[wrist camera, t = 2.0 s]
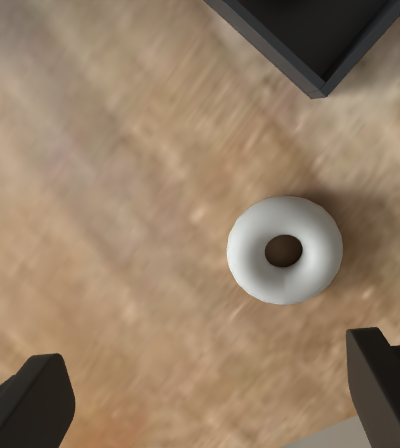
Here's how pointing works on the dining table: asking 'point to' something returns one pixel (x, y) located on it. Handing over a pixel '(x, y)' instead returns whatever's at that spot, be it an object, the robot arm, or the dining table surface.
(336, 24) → the black open box
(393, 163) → the dining table surface
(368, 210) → the dining table surface
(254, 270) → the donut
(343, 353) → the dining table surface
